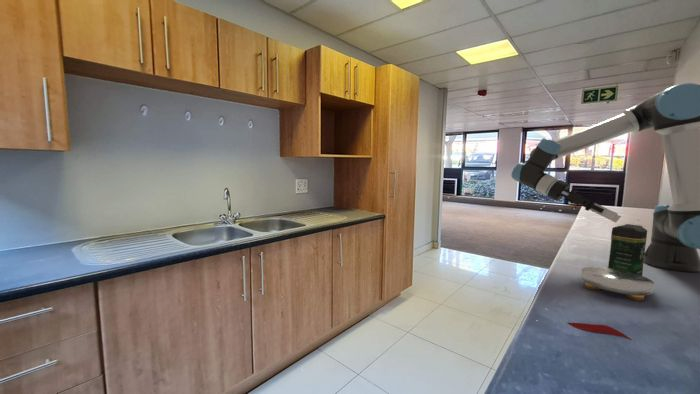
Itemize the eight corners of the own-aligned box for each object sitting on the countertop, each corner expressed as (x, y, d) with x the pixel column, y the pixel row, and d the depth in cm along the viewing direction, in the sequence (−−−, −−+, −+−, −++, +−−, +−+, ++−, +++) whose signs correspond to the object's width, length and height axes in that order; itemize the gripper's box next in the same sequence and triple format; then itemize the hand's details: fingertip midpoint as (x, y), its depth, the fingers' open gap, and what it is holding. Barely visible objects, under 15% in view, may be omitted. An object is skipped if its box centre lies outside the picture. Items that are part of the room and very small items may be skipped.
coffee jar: (635, 287, 90) (641, 228, 88) (603, 279, 97) (608, 224, 95) (645, 281, 95) (651, 225, 93) (614, 273, 102) (619, 221, 100)
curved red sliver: (635, 339, 63) (635, 331, 63) (633, 348, 60) (634, 339, 60) (567, 319, 72) (567, 311, 72) (563, 325, 69) (563, 317, 69)
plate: (608, 278, 97) (609, 265, 97) (668, 299, 81) (669, 284, 81) (567, 282, 94) (568, 268, 94) (621, 304, 79) (623, 288, 78)
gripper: (554, 199, 122) (612, 228, 108) (538, 192, 105) (604, 226, 91) (565, 183, 120) (626, 211, 106) (551, 173, 102) (621, 205, 88)
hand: (616, 218), depth 98 cm, fingers open, 13 cm apart
